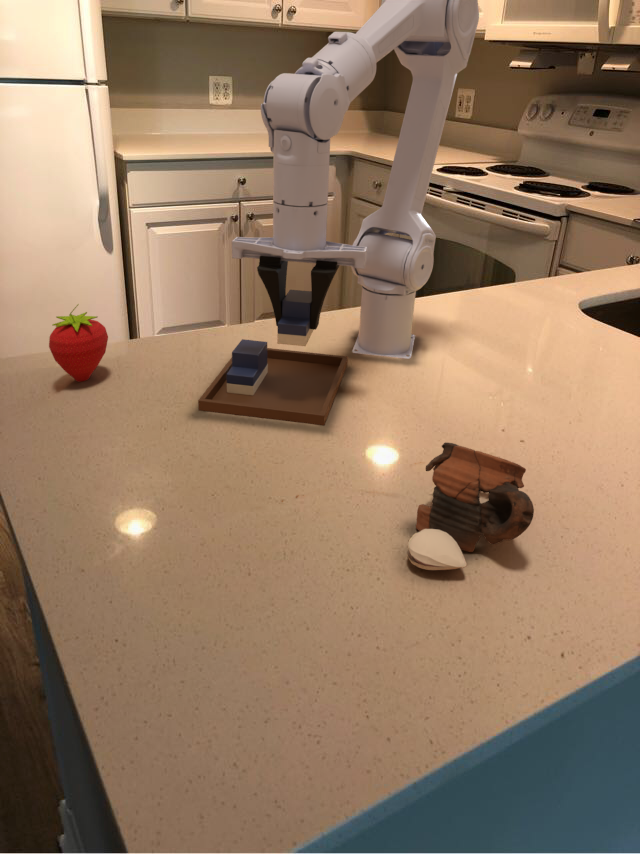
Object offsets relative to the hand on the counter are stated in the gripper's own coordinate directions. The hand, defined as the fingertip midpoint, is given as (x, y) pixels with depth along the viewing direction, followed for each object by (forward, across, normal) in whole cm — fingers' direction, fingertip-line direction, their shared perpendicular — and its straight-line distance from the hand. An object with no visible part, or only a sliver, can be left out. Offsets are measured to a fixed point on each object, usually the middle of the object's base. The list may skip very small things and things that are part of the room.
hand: (297, 325), depth 81 cm
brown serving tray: (+9, -2, 0) cm, 9 cm away
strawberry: (+9, -25, -3) cm, 27 cm away
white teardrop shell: (+9, +17, -29) cm, 35 cm away
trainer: (+1, 0, 0) cm, 1 cm away
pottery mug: (+9, +20, -23) cm, 32 cm away
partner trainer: (+8, -6, +1) cm, 10 cm away
